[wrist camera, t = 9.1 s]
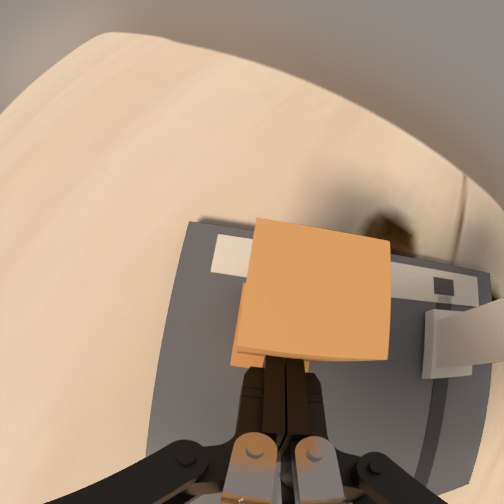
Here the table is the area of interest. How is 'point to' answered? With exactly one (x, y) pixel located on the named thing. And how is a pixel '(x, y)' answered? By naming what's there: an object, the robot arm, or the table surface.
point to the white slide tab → (462, 340)
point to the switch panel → (323, 367)
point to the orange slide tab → (313, 296)
